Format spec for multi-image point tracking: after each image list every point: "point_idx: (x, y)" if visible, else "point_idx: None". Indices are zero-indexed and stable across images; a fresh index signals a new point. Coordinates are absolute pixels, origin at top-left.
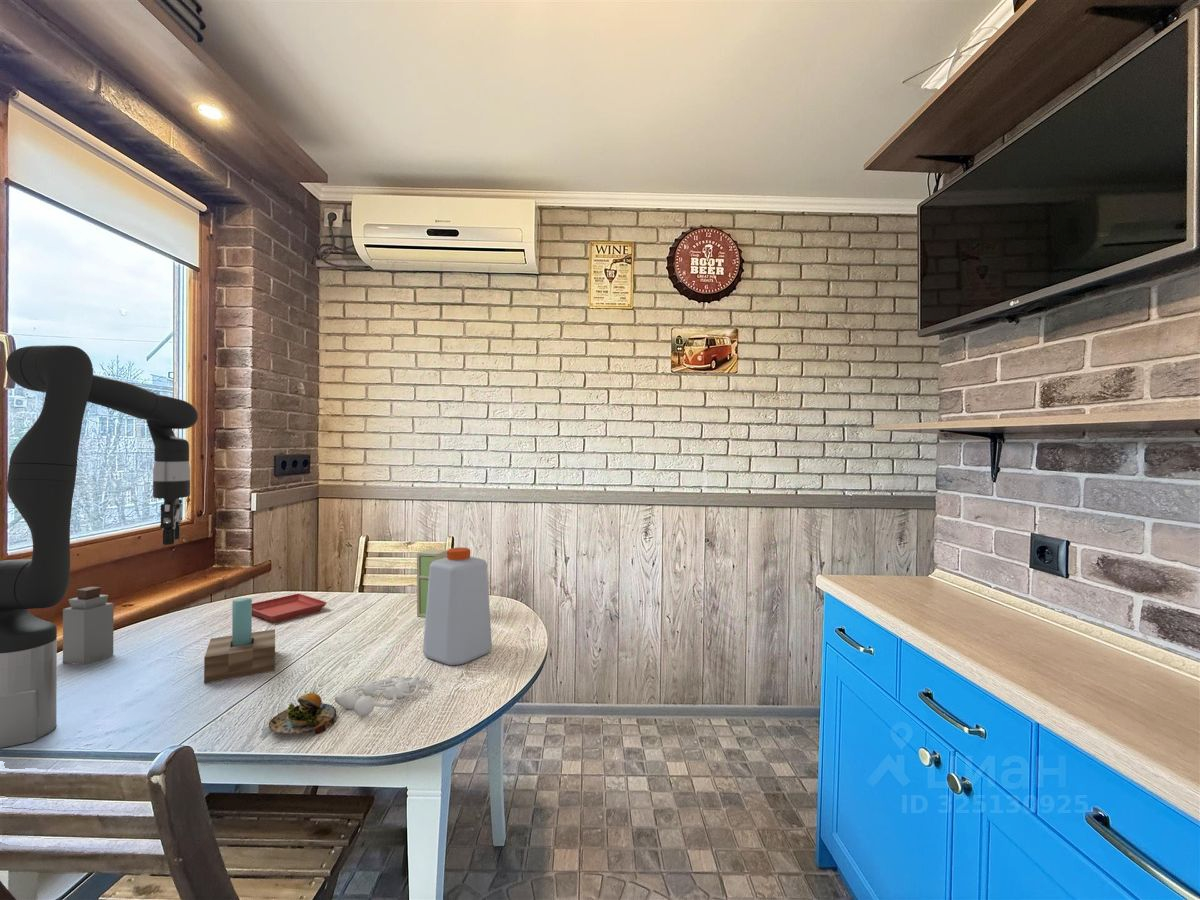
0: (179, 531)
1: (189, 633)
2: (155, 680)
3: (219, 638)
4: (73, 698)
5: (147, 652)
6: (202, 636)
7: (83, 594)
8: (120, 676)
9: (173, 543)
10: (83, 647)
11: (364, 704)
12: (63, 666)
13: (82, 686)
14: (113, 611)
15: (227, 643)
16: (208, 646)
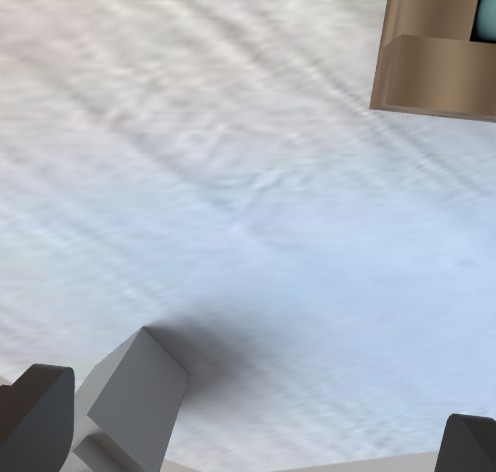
0: (13, 419)
1: (41, 161)
2: (422, 231)
3: (408, 77)
4: (421, 369)
5: (172, 257)
6: (95, 126)
7: None
8: (334, 301)
9: (490, 418)
10: (180, 401)
11: None
12: None
13: (352, 362)
14: (98, 395)
15: (488, 54)
16: (477, 112)
